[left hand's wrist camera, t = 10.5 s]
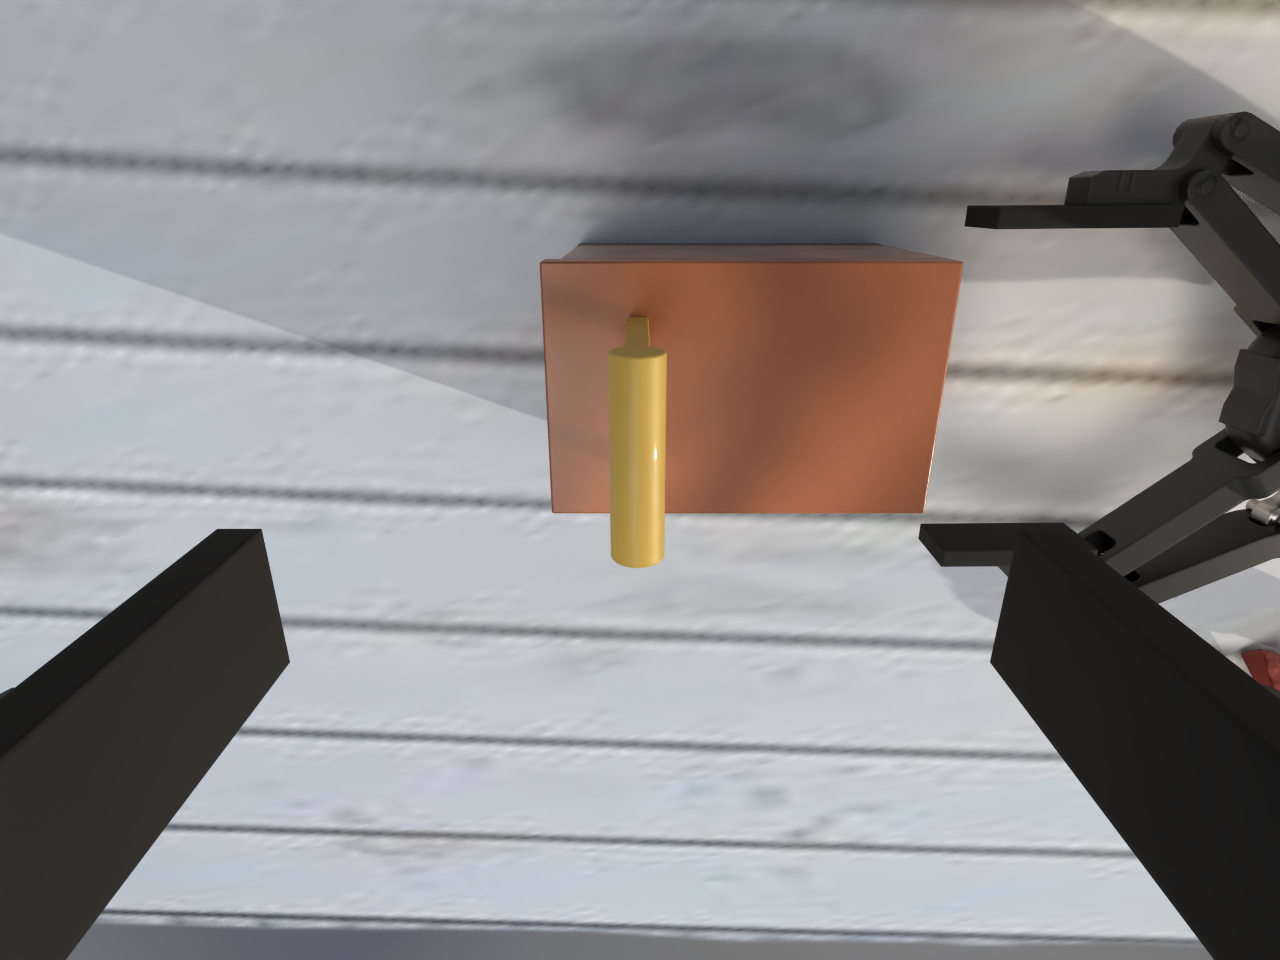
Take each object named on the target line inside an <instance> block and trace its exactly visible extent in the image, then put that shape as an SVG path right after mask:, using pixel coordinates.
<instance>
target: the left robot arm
mask: <svg viewBox="0 0 1280 960" xmlns="http://www.w3.org/2000/svg"><path fill="white" fill-rule="evenodd" d="M289 663H290V660H289V656H288V651H287V646H286V642H285V637H284V632H283V627H282V623H281V618H280V613H279V609H278V604H277V599H276V595H275V590H274V585H273V580H272V576H271V571H270V566H269V562H268V557H267V552H266V548H265V543H264V538H263V534H262V529H217V530H215V531H214V532H213V533H212V534H210V535H209V536H208V537H207V538H205V539H204V540H203V541H201V542H200V543H199V544H198V545H196V546H195V547H194V548H193V549H191V550H190V551H189V552H187V553H186V554H185V555H184V556H182V557H181V558H180V559H178V560H177V561H176V562H175V563H173V564H172V565H171V566H170V567H168V568H167V569H166V570H164V571H163V572H162V573H161V574H159V575H158V576H157V577H156V578H154V579H153V580H152V581H150V582H149V583H148V584H147V585H145V586H144V587H143V588H142V589H140V590H139V591H138V592H136V593H135V594H134V595H133V596H131V597H130V598H129V599H128V600H126V601H125V602H124V603H122V604H121V605H120V606H119V607H117V608H116V609H115V610H113V611H112V612H111V613H110V614H108V615H107V616H106V617H105V618H103V619H102V620H101V621H99V622H98V623H97V624H96V625H94V626H93V627H92V628H91V629H89V630H88V631H87V632H85V633H84V634H83V635H82V636H80V637H79V638H78V639H77V640H75V641H74V642H73V643H71V644H70V645H69V646H68V647H66V648H65V649H64V650H63V651H61V652H60V653H59V654H57V655H56V656H55V657H54V658H52V659H51V660H50V661H48V662H47V663H46V664H45V665H43V666H42V667H41V668H40V669H38V670H37V671H36V672H34V673H33V674H32V675H31V676H29V677H28V678H27V679H26V680H24V681H23V682H22V683H20V684H19V685H18V686H17V687H15V688H11V689H9V690H7V691H5V692H3V693H1V694H0V960H66V959H67V957H68V956H69V955H70V953H71V952H72V951H73V949H74V948H75V947H76V945H77V944H78V943H79V942H80V940H81V939H82V938H83V936H84V935H85V934H86V932H87V931H88V930H89V928H90V927H91V926H92V924H93V923H94V922H95V920H96V919H97V918H98V916H99V915H100V914H101V912H102V911H103V910H104V908H105V907H106V906H107V904H108V903H109V902H110V900H111V899H112V898H113V896H114V895H115V894H116V892H117V891H118V890H119V888H120V887H121V886H122V884H123V883H124V882H125V880H126V879H127V878H128V876H129V875H130V874H131V872H132V871H133V870H134V869H135V867H136V866H137V865H138V863H139V862H140V861H141V859H142V858H143V857H144V855H145V854H146V853H147V851H148V850H149V849H150V847H151V846H152V845H153V843H154V842H155V841H156V839H157V838H158V837H159V835H160V834H161V833H162V831H163V830H164V829H165V827H166V826H167V825H168V823H169V822H170V821H171V819H172V818H173V817H174V815H175V814H176V813H177V811H178V810H179V809H180V807H181V806H182V805H183V803H184V802H185V801H186V799H187V798H188V797H189V795H190V794H191V793H192V792H193V790H194V789H195V788H196V786H197V785H198V784H199V782H200V781H201V780H202V778H203V777H204V776H205V774H206V773H207V772H208V770H209V769H210V768H211V766H212V765H213V764H214V762H215V761H216V760H217V758H218V757H219V756H220V754H221V753H222V752H223V750H224V749H225V748H226V746H227V745H228V744H229V742H230V741H231V740H232V738H233V737H234V736H235V734H236V733H237V732H238V730H239V729H240V728H241V726H242V725H243V724H244V722H245V721H246V720H247V718H248V717H249V716H250V715H251V713H252V712H253V711H254V709H255V708H256V707H257V705H258V704H259V703H260V701H261V700H262V699H263V697H264V696H265V695H266V693H267V692H268V691H269V689H270V688H271V687H272V685H273V684H274V683H275V681H276V680H277V679H278V677H279V676H280V675H281V673H282V672H283V671H284V669H285V668H286V667H287V665H288V664H289ZM990 663H991V664H992V665H993V667H994V668H995V669H996V671H997V672H998V673H999V675H1000V676H1001V677H1002V679H1003V680H1004V681H1005V683H1006V684H1007V685H1008V687H1009V688H1010V689H1011V691H1012V692H1013V693H1014V695H1015V696H1016V697H1017V699H1018V700H1019V701H1020V703H1021V704H1022V705H1023V707H1024V708H1025V709H1026V711H1027V712H1028V713H1029V715H1030V716H1031V717H1032V718H1033V720H1034V721H1035V722H1036V724H1037V725H1038V726H1039V728H1040V729H1041V730H1042V732H1043V733H1044V734H1045V736H1046V737H1047V738H1048V740H1049V741H1050V742H1051V744H1052V745H1053V746H1054V748H1055V749H1056V750H1057V752H1058V753H1059V754H1060V756H1061V757H1062V758H1063V760H1064V761H1065V762H1066V764H1067V765H1068V766H1069V768H1070V769H1071V770H1072V772H1073V773H1074V774H1075V776H1076V777H1077V778H1078V780H1079V781H1080V782H1081V784H1082V785H1083V786H1084V788H1085V789H1086V790H1087V792H1088V793H1089V794H1090V795H1091V797H1092V798H1093V799H1094V801H1095V802H1096V803H1097V805H1098V806H1099V807H1100V809H1101V810H1102V811H1103V813H1104V814H1105V815H1106V817H1107V818H1108V819H1109V821H1110V822H1111V823H1112V825H1113V826H1114V827H1115V829H1116V830H1117V831H1118V833H1119V834H1120V835H1121V837H1122V838H1123V839H1124V841H1125V842H1126V843H1127V845H1128V846H1129V847H1130V849H1131V850H1132V851H1133V853H1134V854H1135V855H1136V857H1137V858H1138V859H1139V861H1140V862H1141V863H1142V865H1143V866H1144V867H1145V869H1146V870H1147V871H1148V872H1149V874H1150V875H1151V876H1152V878H1153V879H1154V880H1155V882H1156V883H1157V884H1158V886H1159V887H1160V888H1161V890H1162V891H1163V892H1164V894H1165V895H1166V896H1167V898H1168V899H1169V900H1170V902H1171V903H1172V904H1173V906H1174V907H1175V908H1176V910H1177V911H1178V912H1179V914H1180V915H1181V916H1182V918H1183V919H1184V920H1185V922H1186V923H1187V924H1188V926H1189V927H1190V928H1191V930H1192V931H1193V932H1194V934H1195V935H1196V936H1197V938H1198V939H1199V940H1200V942H1201V943H1202V944H1203V946H1204V947H1205V948H1206V949H1207V951H1208V952H1209V953H1210V955H1211V956H1212V957H1213V959H1214V960H1280V691H1279V690H1277V689H1275V688H1273V687H1271V686H1270V685H1261V684H1260V683H1258V682H1257V681H1256V680H1254V679H1253V678H1252V677H1251V676H1249V675H1248V674H1247V673H1246V672H1244V671H1243V670H1242V669H1240V668H1239V667H1238V666H1237V665H1235V664H1234V663H1233V662H1232V661H1230V660H1229V659H1228V658H1226V657H1225V656H1224V655H1223V654H1221V653H1220V652H1219V651H1217V650H1216V649H1215V648H1214V647H1212V646H1211V645H1210V644H1209V643H1207V642H1206V641H1205V640H1203V639H1202V638H1201V637H1200V636H1198V635H1197V634H1196V633H1195V632H1193V631H1192V630H1191V629H1189V628H1188V627H1187V626H1186V625H1184V624H1183V623H1182V622H1181V621H1179V620H1178V619H1177V618H1175V617H1174V616H1173V615H1172V614H1170V613H1169V612H1168V611H1167V610H1165V609H1164V608H1163V607H1161V606H1160V605H1159V604H1158V603H1156V602H1155V601H1154V600H1152V599H1151V598H1150V597H1149V596H1147V595H1146V594H1145V593H1144V592H1142V591H1141V590H1140V589H1138V588H1137V587H1136V586H1135V585H1133V584H1132V583H1131V582H1130V581H1128V580H1127V579H1126V578H1124V577H1123V576H1122V575H1121V574H1119V573H1118V572H1117V571H1116V570H1114V569H1113V568H1112V567H1110V566H1109V565H1108V564H1107V563H1105V562H1104V561H1103V560H1102V559H1100V558H1099V557H1098V556H1096V555H1095V554H1094V553H1093V552H1091V551H1090V550H1089V549H1087V548H1086V547H1085V546H1084V545H1082V544H1081V543H1080V542H1079V541H1077V540H1076V539H1075V538H1073V537H1072V536H1071V535H1070V534H1068V533H1067V532H1066V531H1065V530H1063V529H1018V534H1017V538H1016V543H1015V548H1014V552H1013V557H1012V562H1011V566H1010V571H1009V576H1008V580H1007V585H1006V590H1005V595H1004V599H1003V604H1002V609H1001V613H1000V618H999V623H998V627H997V632H996V637H995V642H994V646H993V651H992V656H991V660H990Z"/></svg>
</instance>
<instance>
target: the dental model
mask: <svg viewBox="0 0 1280 960" xmlns="http://www.w3.org/2000/svg"><path fill="white" fill-rule="evenodd" d="M1241 656H1242V658H1243V660H1244V662H1245V664H1246V666H1247V668H1248V669H1249V671H1250V673H1251V675H1252V677H1253V679H1254V680H1256V681H1257V682H1258V683H1260V684H1261V685H1270V686H1271V687H1273V688H1275V689H1277V690H1279V691H1280V655H1278V654H1275V653H1272V652H1269V651H1265V650H1261V649H1259V650H1254V651H1250V652H1246V653H1242V654H1241Z"/></svg>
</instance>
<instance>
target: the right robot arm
mask: <svg viewBox="0 0 1280 960" xmlns="http://www.w3.org/2000/svg"><path fill="white" fill-rule="evenodd" d="M1173 145H1174V150H1173V151H1172V153H1171V155H1170V157H1169V158H1168V159H1167V161H1166V162H1165V163H1164V164H1163V165H1161V166H1160V167H1158V168H1157V169H1154V170H1109V171H1090V172H1082V173H1080V174H1078V175H1075V176H1073V177H1070V178H1069V183H1068V188H1067V193H1066V199H1065V204H1064V205H995V206H968V207H967V214H966V221H965V226H968V227H979V228H990V229H1057V228H1161V227H1169V228H1170V229H1171V230H1172V231H1173V232H1174V234H1175V235H1176V236H1177V237H1178V238H1179V239H1180V240H1181V242H1182V243H1183V244H1184V245H1185V246H1186V247H1187V248H1188V249H1189V251H1190V252H1191V253H1192V254H1193V255H1194V256H1195V257H1196V259H1197V260H1198V261H1199V262H1200V263H1201V264H1202V265H1203V266H1204V268H1205V269H1206V270H1207V271H1208V272H1209V273H1210V274H1211V276H1212V277H1213V278H1214V279H1215V280H1216V281H1217V282H1218V284H1219V285H1220V286H1221V287H1222V288H1223V289H1224V290H1225V291H1226V293H1227V294H1228V295H1229V296H1230V297H1231V298H1232V299H1233V301H1234V302H1235V303H1236V304H1237V306H1236V307H1235V308H1234V310H1235V311H1236V313H1237V314H1238V315H1239V316H1240V317H1241V319H1242V320H1243V321H1244V322H1245V323H1246V324H1247V325H1248V326H1249V328H1250V329H1251V330H1252V331H1253V332H1254V333H1255V334H1256V335H1257V338H1256V339H1255V340H1254V341H1253V342H1252V343H1251V345H1250V346H1249V348H1248V349H1240V352H1239V355H1238V358H1237V362H1236V365H1235V378H1234V387H1233V389H1232V391H1231V393H1230V394H1229V396H1228V398H1227V400H1226V401H1225V403H1224V405H1223V409H1222V412H1221V415H1220V419H1219V422H1222V423H1224V424H1225V429H1223V430H1222V431H1220V432H1219V433H1217V434H1216V435H1214V436H1213V437H1211V438H1210V439H1208V440H1207V441H1205V442H1204V443H1202V444H1201V445H1199V446H1198V447H1196V448H1195V449H1194V450H1193V452H1192V454H1193V458H1192V459H1191V460H1190V461H1189V462H1187V463H1185V464H1184V465H1182V466H1181V467H1179V468H1178V469H1176V470H1175V471H1173V472H1172V473H1170V474H1169V475H1167V476H1166V477H1164V478H1162V479H1161V480H1159V481H1158V482H1156V483H1155V484H1153V485H1152V486H1150V487H1149V488H1147V489H1146V490H1144V491H1143V492H1141V493H1140V494H1138V495H1136V496H1135V497H1133V498H1132V499H1130V500H1129V501H1127V502H1126V503H1124V504H1123V505H1121V506H1120V507H1118V508H1117V509H1115V510H1113V511H1112V512H1110V513H1109V514H1107V515H1106V516H1104V517H1103V518H1101V519H1100V520H1098V521H1097V522H1095V523H1094V524H1092V525H1091V526H1089V527H1087V528H1086V529H1084V530H1083V531H1081V532H1080V533H1078V534H1077V533H1076V532H1074V531H1073V530H1072V529H1071V528H1069V527H1068V526H1067V525H1065V524H1064V523H961V524H921V526H920V532H919V540H920V541H921V542H922V543H923V545H924V546H925V547H926V548H927V550H928V551H929V552H930V553H931V554H932V556H933V557H934V558H935V559H936V561H937V562H938V563H939V564H940V565H941V567H950V566H998V567H999V568H1000V569H1001V570H1002V571H1003V572H1004V573H1005V574H1006V575H1007V576H1009V571H1010V566H1011V562H1012V557H1013V552H1014V548H1015V543H1016V538H1017V534H1018V529H1063V530H1065V531H1066V532H1067V533H1068V534H1070V535H1071V536H1072V537H1073V538H1075V539H1076V540H1077V541H1079V542H1080V543H1081V544H1082V545H1084V546H1085V547H1086V548H1087V549H1089V550H1090V551H1091V552H1093V553H1094V554H1095V555H1096V556H1098V557H1099V558H1100V559H1102V560H1103V561H1104V562H1105V563H1107V564H1108V565H1109V566H1110V567H1112V568H1113V569H1114V570H1116V571H1117V572H1118V573H1119V574H1121V575H1122V576H1123V577H1124V578H1126V579H1127V580H1128V581H1130V582H1131V583H1132V584H1133V585H1135V586H1136V587H1137V588H1138V589H1140V590H1141V591H1142V592H1144V593H1145V594H1146V595H1147V596H1149V597H1150V598H1151V599H1152V600H1154V601H1155V602H1156V603H1161V602H1163V601H1166V600H1168V599H1171V598H1174V597H1176V596H1179V595H1181V594H1184V593H1186V592H1189V591H1192V590H1194V589H1197V588H1199V587H1202V586H1204V585H1207V584H1210V583H1212V582H1215V581H1217V580H1220V579H1222V578H1225V577H1227V576H1230V575H1233V574H1235V573H1238V572H1240V571H1243V570H1245V569H1248V568H1251V567H1253V566H1256V565H1258V564H1261V563H1263V562H1266V561H1269V560H1271V559H1274V558H1280V245H1279V244H1278V242H1277V241H1276V240H1275V239H1274V238H1273V237H1272V235H1271V234H1270V233H1269V232H1268V231H1267V229H1266V228H1265V227H1264V226H1263V225H1262V223H1261V222H1260V221H1259V220H1258V219H1257V217H1256V216H1255V215H1254V214H1253V213H1252V211H1251V210H1250V209H1249V208H1248V207H1247V205H1246V204H1245V203H1244V202H1243V201H1242V199H1241V198H1240V197H1239V196H1238V195H1237V193H1236V192H1235V191H1234V190H1233V189H1232V187H1231V186H1230V185H1232V186H1233V187H1235V188H1237V189H1238V190H1240V191H1241V192H1243V193H1245V194H1246V195H1248V196H1250V197H1251V198H1253V199H1254V200H1256V201H1258V202H1259V203H1261V204H1263V205H1264V206H1266V207H1267V208H1269V209H1271V210H1272V211H1274V212H1275V213H1277V214H1279V215H1280V131H1278V130H1277V129H1275V128H1273V127H1272V126H1270V125H1269V124H1267V123H1266V122H1264V121H1263V120H1261V119H1259V118H1258V117H1256V116H1255V115H1253V114H1252V113H1248V112H1239V113H1229V114H1222V115H1215V116H1208V117H1202V118H1196V119H1190V120H1187V121H1185V122H1183V123H1182V124H1181V125H1180V126H1179V127H1178V128H1177V129H1176V131H1175V133H1174V135H1173ZM1228 183H1229V184H1230V185H1229V184H1228ZM1243 453H1246V454H1247V455H1248V456H1249V457H1250V458H1251V459H1253V460H1254V461H1255V462H1256V463H1254V464H1252V463H1248V462H1246V461H1243V460H1241V459H1239V458H1237V457H1238V456H1239V455H1241V454H1243ZM1278 490H1279V491H1278ZM1277 491H1278V492H1277ZM1275 492H1277V493H1276V494H1275V495H1274V496H1272V497H1270V498H1268V499H1265V500H1262V501H1260V500H1257V499H1261V498H1266V497H1268V496H1270V495H1272V494H1274V493H1275ZM1248 499H1251V500H1249V501H1248V502H1247V504H1246V509H1243V510H1237V511H1233V512H1229V513H1226V512H1227V511H1229V510H1231V509H1232V508H1234V507H1235V506H1237V505H1239V504H1240V503H1242V502H1243V501H1245V500H1248ZM1224 513H1225V514H1224ZM1101 553H1103V554H1101Z"/></svg>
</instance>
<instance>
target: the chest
mask: <svg viewBox="0 0 1280 960" xmlns="http://www.w3.org/2000/svg"><path fill="white" fill-rule="evenodd" d="M562 259H947V258H942V257H937V256H932V255H927V254H922V253H917V252H912V251H907V250H902V249H897V248H892V247H887V246H882V245H879V244H579V245H578V246H577V247H576V248H575V249H574V250H572V251H571V252H570V253H568V254H567V255H566V256H565V257H563V258H562Z"/></svg>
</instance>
